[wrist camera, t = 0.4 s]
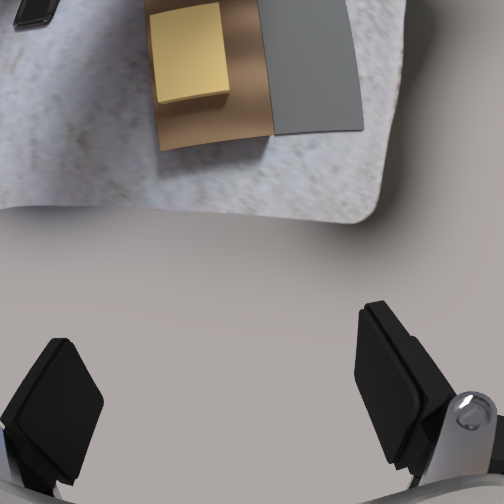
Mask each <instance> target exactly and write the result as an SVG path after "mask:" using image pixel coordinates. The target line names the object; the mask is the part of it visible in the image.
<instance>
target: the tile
mask: <svg viewBox="0 0 504 504" xmlns="http://www.w3.org/2000/svg"><path fill="white" fill-rule="evenodd" d="M150 26H151V39H152V51H153V62H154V72H155V81H156V90H157V98H158V102H159V103H161V104H166V103H171V102H176V101H181V100H187V99H193V98H198V97H205V96H211V95H218V94H225V93H230V88H229V80H228V72H227V64H226V56H225V48H224V40H223V32H222V24H221V16H220V8H219V2H218V3H210V4H204V5H197V6H192V7H186V8H181V9H176V10H171V11H167V12H162V13H158V14H154V15H150Z"/></svg>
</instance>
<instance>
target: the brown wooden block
mask: <svg viewBox="0 0 504 504" xmlns="http://www.w3.org/2000/svg"><path fill="white" fill-rule="evenodd" d="M218 2H219V8H220V16H221V24H222V32H223V40H224V48H225V56H226V64H227V72H228V80H229V88H230V93H225V94H218V95H211V96H205V97H198V98H193V99H187V100H181V101H176V102H171V103H166V104H161V103H159V102H158V98H157V90H156V81H155V72H154V62H153V51H152V39H151V26H150V15H154V14H158V13H162V12H167V11H171V10H176V9H181V8H186V7H192V6H197V5H204V4H210V3H218ZM145 15H146V30H147V43H148V55H149V66H150V75H151V85H152V93H153V102H154V110H155V117H156V125H157V132H158V139H159V146H160V151H165V150H170V149H175V148H181V147H187V146H193V145H199V144H205V143H212V142H219V141H226V140H233V139H241V138H250V137H259V136H268V135H275V134H274V125H273V116H272V108H271V100H270V91H269V84H268V76H267V68H266V61H265V53H264V46H263V39H262V32H261V25H260V19H259V12H258V6H257V0H145Z"/></svg>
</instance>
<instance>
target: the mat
mask: <svg viewBox="0 0 504 504" xmlns="http://www.w3.org/2000/svg"><path fill="white" fill-rule="evenodd" d="M257 4H258V10H259V17H260V23H261V30H262V37H263V44H264V51H265V58H266V66H267V73H268V81H269V89H270V97H271V105H272V113H273V122H274V131H275V134H284V133H297V132H312V131H331V130H364V122H363V111H362V102H361V93H360V84H359V77H358V69H357V62H356V56H355V50H354V43H353V38H352V32H351V27H350V22H349V17H348V12H347V7H346V2H345V0H257Z"/></svg>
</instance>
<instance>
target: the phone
mask: <svg viewBox="0 0 504 504" xmlns="http://www.w3.org/2000/svg"><path fill="white" fill-rule="evenodd" d="M59 1H60V0H22V1H21V4H20V6H19V9H18V12H17V14H16V17H15V20H14V23H13V26H14V27H15V28H25V27H30V26H37V25H43V24H47V23H49V22H50V21H51V20H52V18H53V16H54V14H55V11H56V8H57V6H58V3H59Z"/></svg>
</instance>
